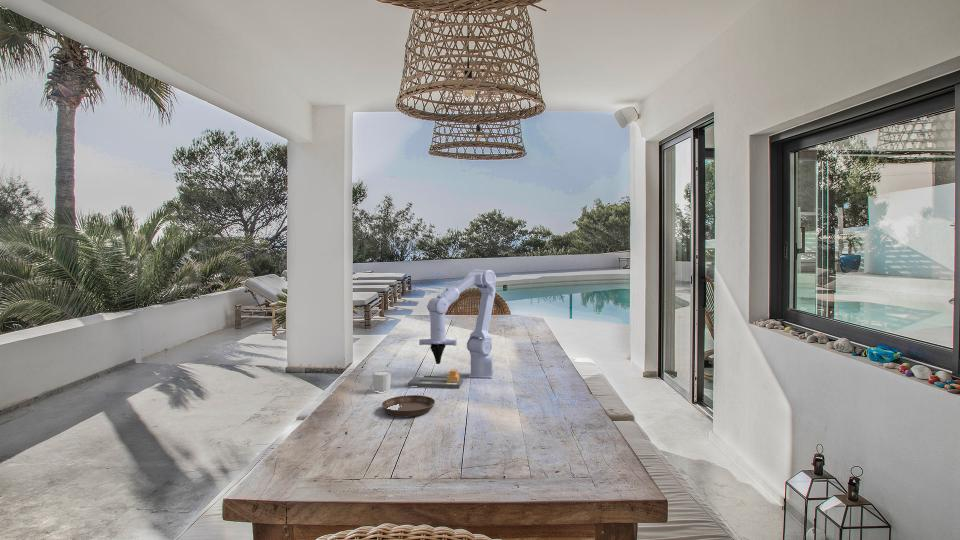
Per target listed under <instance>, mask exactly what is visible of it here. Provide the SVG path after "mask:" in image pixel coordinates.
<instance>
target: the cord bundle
mask: <svg viewBox="0 0 960 540" xmlns="http://www.w3.org/2000/svg"><path fill="white" fill-rule="evenodd" d="M423 377H433V378H447V376H437V375H424V376H423Z"/></svg>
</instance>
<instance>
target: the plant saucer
mask: <svg viewBox="0 0 960 540" xmlns="http://www.w3.org/2000/svg"><path fill="white" fill-rule="evenodd" d="M435 403H436V399H434V398H433V397H431V396H427V395H421V394H420V395H418V394H412V395H411V394H410V395H408V394H407V395H400V396H395V397H391V398H388V399H385V400H384V401H383V402H382V403H381V407H382V408H383V410H384V411H385V412H386V413H387V414H389V415H390V414H392V415H391V416H393V415H395V416H394V417H398V416H413V417H418V416H417V415H419V416H422V414H423V415H425V414H427V413H429V412H430V411H431V410H432V409H433V407H434V406H435ZM397 404H399V406H400V405H401V406H402V407H401V406H400V408H399V409H398V410H391V409H387V408H388V407H390V406H393V405H397Z"/></svg>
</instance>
